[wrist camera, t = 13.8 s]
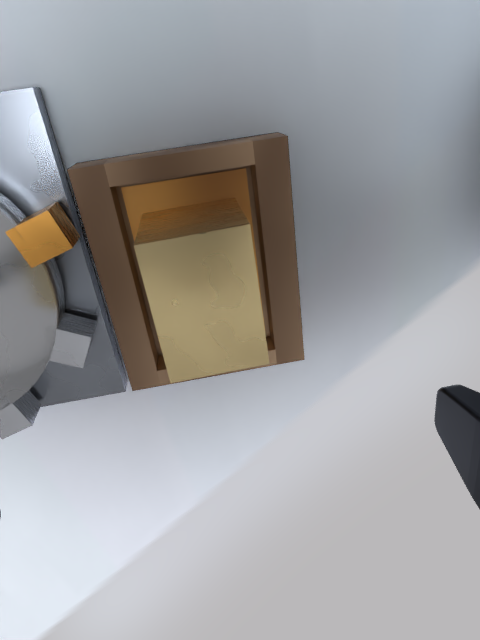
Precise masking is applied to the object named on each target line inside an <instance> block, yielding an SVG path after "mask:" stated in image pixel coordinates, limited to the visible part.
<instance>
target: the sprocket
mask: <svg viewBox="0 0 480 640" xmlns="http://www.w3.org/2000/svg"><path fill="white" fill-rule="evenodd" d="M79 238H80V235H79V233H78V232H77V230H76V229H75V227H74V225H73V224H72V222H71V221H70V219H69V218H68V216H67V215H66V213H65V212H64V210H63V209H62V207H61V205H60V204H59V202H58V201H57V202H55V203H53V204H51V205H49V206H47V207H45V208H43V209H41V210H39V211H37V212H35V213H33V214H31V215H29V216H28V217H26V216H25V214H24V213H23V212H22V211H21V210H20V209H19V208H18V207H16V206H15V205H14V204H13V203H12V202H11V201H10V200H9V199H8V198H7V197H5V196H4V195H3V194H1V193H0V437H1V438H2V439H4V438H6V437H8V436H10V435H12V434H14V433H17V432H19V431H21V430H23V429H25V428H27V427H30V426H32V425H33V422H34V420H35V418H36V415H37V413H38V411H39V408H40V406H41V403H40V402H39V401H38V400H37V398H36V397H35V396H34V395H33V394H32V393H31V391H30V390H29V389H30V388H31V387H32V386H33V385H34V384H35V383H36V382H37V380H38V379H39V377H40V376H41V374H42V373H43V371H44V370H45V368H46V366H47V364H48V362H49V361H53V362H57V363H62V364H66V365H70V366H75V367H79V368H83V367H84V364H85V361H86V358H87V355H88V352H89V349H90V345H91V341H92V338H93V334H94V330H95V326H96V323H97V321H96V320H92V319H88V318H84V317H80V316H77V315H73V314H69V313H65V299H64V290H63V285H62V280H61V276H60V273H59V270H58V267H57V264H56V261H55V259H54V257H55V256H58V255H60V254H62V253H64V252H66V251H68V250H70V249H72V248H73V247H74V245H75V244H76V242H77V241H78V239H79Z"/></svg>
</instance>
